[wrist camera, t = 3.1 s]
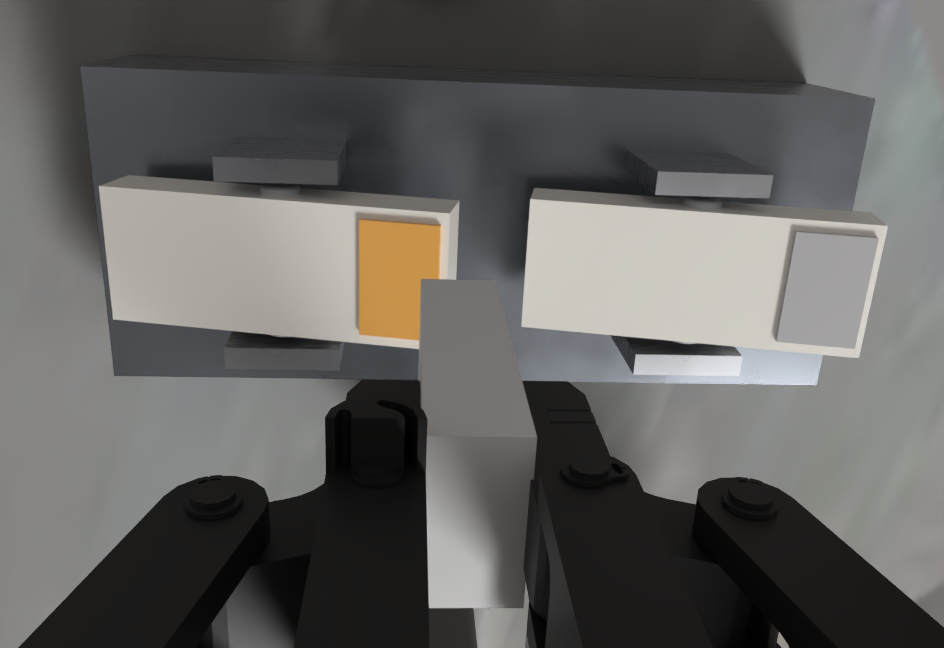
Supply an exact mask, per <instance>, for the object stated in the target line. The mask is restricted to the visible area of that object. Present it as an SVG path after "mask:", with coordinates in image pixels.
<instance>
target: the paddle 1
mask: <svg viewBox="0 0 944 648" xmlns="http://www.w3.org/2000/svg"><path fill="white" fill-rule="evenodd" d="M99 194H100V203H101V212H102V221H103V231H104V240H105V249H106V258H107V267H108V277H109V286H110V295H111V304H112V314H113V319H114V320H124V321H135V322H145V323H155V324H165V325H176V326H186V327H196V328H207V329H217V330H227V331H238V332H248V333H258V334H269V335H271V336H275V337H300V338H310V339H320V340H330V341H341V342H351V343H361V344H372V345H382V346H392V347H403V348H413V349H419V330H420V291H421V279H450V280H456V273H457V249H458V224H459V200H449V199H436V198H423V197H410V196H397V195H383V194H370V193H357V192H344V191H331V190H318V189H305V188H300V186H298V185H294V184H284V183H274V184H266V185H252V184H239V183H226V182H213V181H200V180H187V179H174V178H160V177H147V176H134V175H128V176H125V177H122V178H120V179H117V180H114V181H111V182H108V183H106V184H103V185H100V186H99Z"/></svg>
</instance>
